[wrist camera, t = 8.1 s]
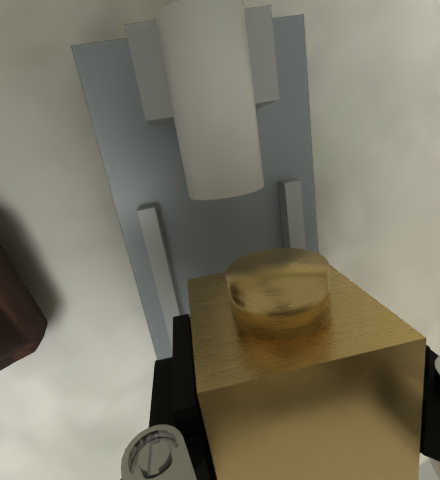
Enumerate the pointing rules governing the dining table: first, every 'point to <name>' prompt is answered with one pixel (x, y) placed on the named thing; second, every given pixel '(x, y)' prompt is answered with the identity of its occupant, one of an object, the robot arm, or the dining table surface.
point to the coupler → (304, 373)
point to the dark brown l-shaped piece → (17, 317)
